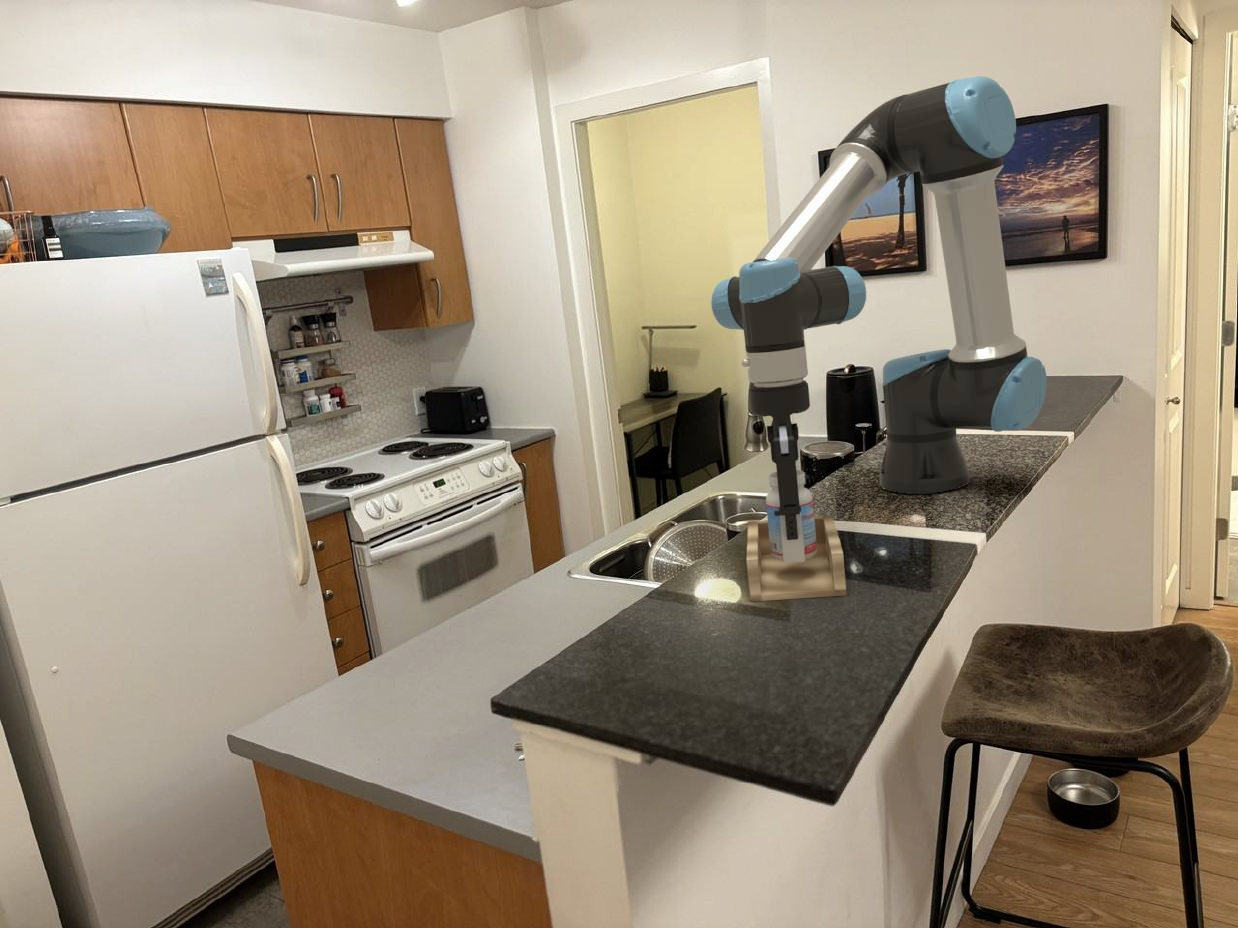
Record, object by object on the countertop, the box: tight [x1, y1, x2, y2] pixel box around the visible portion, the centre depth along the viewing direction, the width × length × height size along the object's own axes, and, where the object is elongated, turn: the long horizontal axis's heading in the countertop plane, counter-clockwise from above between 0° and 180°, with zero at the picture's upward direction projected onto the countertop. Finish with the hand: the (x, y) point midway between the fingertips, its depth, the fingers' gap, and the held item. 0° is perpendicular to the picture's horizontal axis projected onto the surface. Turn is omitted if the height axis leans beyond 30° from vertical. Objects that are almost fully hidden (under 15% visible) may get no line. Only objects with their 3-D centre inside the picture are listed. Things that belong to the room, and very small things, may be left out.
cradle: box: [746, 514, 847, 602], centre depth 125 cm, size 18×12×6 cm
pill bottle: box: [765, 469, 817, 561], centre depth 122 cm, size 6×6×11 cm
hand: (793, 553), depth 123 cm, fingers closed on pill bottle, 6 cm apart
